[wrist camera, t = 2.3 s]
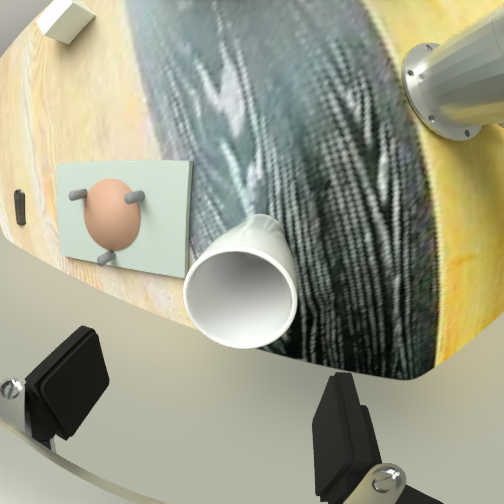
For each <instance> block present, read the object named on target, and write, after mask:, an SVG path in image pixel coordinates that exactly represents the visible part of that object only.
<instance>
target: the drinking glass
mask: <svg viewBox="0 0 504 504" xmlns="http://www.w3.org/2000/svg"><path fill="white" fill-rule="evenodd" d="M297 296H298V286H297V274H296V268H295V264H294V260H293V257H292V254H291V252H290V249H289V246H288V244H287V241H286V236H285V232H284V229H283V227H282V225H281V224H280V223H279V222H278V221H277V220H276V219H275V218H273V217H271V216H269V215H266V214H253V215H250V216H248V217H246V218H245V219H243V220H242V221H241V222H240V223H239V224H238V225H236V226H235V227H233V228H231V229H230V230H228V231H227V232H225V233H223V234H222V235H220V236H219V237H218V238H217V239H215V240H214V241H213V242H212V243H211V244H210V245H209V246H208V247H207V248H206V249H205V250H204V251H203V252H202V254H201V255H200V256H199V257H198V259H197V260H196V261H195V263H194V264H193V266H192V267H191V268H190V270H189V272H188V274H187V276H186V279H185V282H184V287H183V300H184V305H185V308H186V311H187V314H188V316H189V318H190V319H191V321H192V322H193V324H194V325H195V326H196V327H197V329H198V330H199V331H200V332H202V333H203V334H204V335H205V336H206V337H208V338H209V339H211V340H213V341H215V342H216V343H219V344H221V345H224V346H227V347H231V348H237V349H252V348H258V347H262V346H265V345H267V344H270V343H272V342H273V341H275V340H277V339H278V338H279V337H281V336H282V335H283V334H284V333H285V332H286V331H287V329H288V328H289V327H290V325H291V323H292V322H293V319H294V317H295V314H296V310H297Z"/></svg>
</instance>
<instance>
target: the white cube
mask: <svg viewBox="0 0 504 504" xmlns="http://www.w3.org/2000/svg"><path fill="white" fill-rule="evenodd" d="M94 17H95V14H94V13H93V12H92V11H91V10H90V9H89V8H88V7H87V6H86V5H85V4H84V3H83V2H81V1H79V0H54V1H53V2H52V3H51V5H50V6H49V7H48V8H47V9H46V10H45V11H44V13H43V14H42V15H41V16H40V17H39V19H38V20H37V21H36V22H37V24H38V26H39V28H40V29H41V31H42V33H43V35H44V36H47V37H50V38H52V39H55V40H58V41H60V42H63V43H65V44H68V45H69V44H70V43H71V41H72V40H73V39H74V38H75V37H76V36H77V35H78V34H79V33H80V31H81V30H82V29H83V28H84V27H85V26H86V25H87V24H88V23H89V22H90V21H91V20H92V19H93V18H94Z"/></svg>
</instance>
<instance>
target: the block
mask: <svg viewBox="0 0 504 504" xmlns="http://www.w3.org/2000/svg"><path fill="white" fill-rule="evenodd" d="M14 200H15V211H16V220H17V224H18V225H23V224H26V221H25V194H24V192H23V191H22V190H21V189H18V190H15V192H14Z"/></svg>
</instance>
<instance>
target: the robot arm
mask: <svg viewBox="0 0 504 504" xmlns="http://www.w3.org/2000/svg"><path fill="white" fill-rule="evenodd" d="M402 81H403V86H404V90H405V93H406V96H407V98H408V100H409V102H410V104H411V106H412V108H413V109H414V111H415V113H416V114H417V115H418V117H419V118H420V119H421V120H422V122H423V123H424V124H425V125H426V126H427V127H428V128H429V129H431V130H432V131H433V132H435V133H436V134H437V135H439V136H441V137H443V138H445V139H448V140H452V141H464V140H469V139H471V138H473V137H475V136H476V135H477V134H478V133H479V131H480V130H481V128H482V126H483V125H486V124H495V123H497V124H498V125H499V126H501V127H502V128H504V4H503V5H501V6H500V7H498V8H496V9H495V10H493V11H492V12H490V13H488V14H487V15H485V16H483V17H482V18H480V19H479V20H477V21H476V22H474V23H472V24H471V25H469V26H468V27H466V28H465V29H463V30H462V31H460V32H459V33H457V34H456V35H454V36H453V37H451V38H450V39H448V40H447V41H445V42H444V43H443V44H441V45H439V44H436V43H422V44H419V45H416V46H415V47H414V48H412V49H411V50H410V51H409V52H408V53H407V55H406V56H405V58H404V61H403V65H402ZM25 381H26V384H25V385H24V383H23V382H22V381H21V380H20V379H18V378H8V379H6V380H4V381H3V382H1V384H0V504H169V503H165V502H162V501H159V500H156V499H153V498H149V497H147V496H144V495H141V494H138V493H136V492H133V491H130V490H128V489H125V488H123V487H120V486H118V485H116V484H113V483H111V482H109V481H106V480H105V479H102V478H100V477H98V476H96V475H94V474H92V473H90V472H88V471H86V470H84V469H82V468H80V467H79V466H77V465H75V464H73V463H71V462H69V461H68V460H66V459H64V458H63V457H61V456H59V455H58V454H56V450H55V443H54V435H55V434H57V435H58V436H59V437H61V438H62V439H64V440H67V439H68V438H69V437H71V436H73V435H74V433H75V432H76V430H77V429H78V428H79V426H80V425H81V424H82V422H83V421H84V419H85V418H86V416H87V415H88V413H89V412H90V411H91V409H92V408H93V406H94V405H95V403H96V402H97V401H98V399H99V398H100V397H101V395H102V394H103V392H104V391H105V390H106V388H107V387H108V385H109V376H108V373H107V369H106V365H105V362H104V358H103V354H102V350H101V346H100V342H99V337H98V335H97V334H96V332H95V330H94V329H92V328H89V327H86V326H81V327H79V328H78V329H77V330H76V331H75V332H74V333H72V334H71V335H70V336H69V337H68V338H67V339H66V340H65V341H64V342H63V343H61V344H60V345H59V346H58V347H57V348H56V349H55V350H54V351H53V352H52V353H51V354H50V355H49V356H48V357H47V358H46V359H44V360H43V361H42V362H41V363H40V364H39V365H38V366H37V367H36V368H35V369H34V370H33V371H32V372H31V373H30V374H29V375H28V376H27V377H26V378H25ZM312 433H313V449H314V467H315V493H316V496H320V501H321V502H328V504H443V503H442V502H440V501H438V500H436V499H434V498H432V497H430V496H428V495H425V494H424V493H421V492H420V491H418V490H416V489H414V488H412V487H410V486H408V485H406V476H405V473H404V471H403V470H402V469H401V468H400V467H398V466H397V465H394V464H391V463H382V460H381V456H380V452H379V448H378V445H377V440H376V436H375V432H374V428H373V425H372V421H371V418H370V414H369V411H368V408H367V407H366V406H365V405H360V402H359V398H358V395H357V391H356V388H355V384H354V380H353V377H352V374H351V373H342V372H341V373H340V372H336V373H335V375H334V376H330V377H329V380H328V382H327V385H326V388H325V391H324V394H323V396H322V398H321V401H320V403H319V406H318V408H317V411H316V413H315V416H314V418H313V422H312Z"/></svg>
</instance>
